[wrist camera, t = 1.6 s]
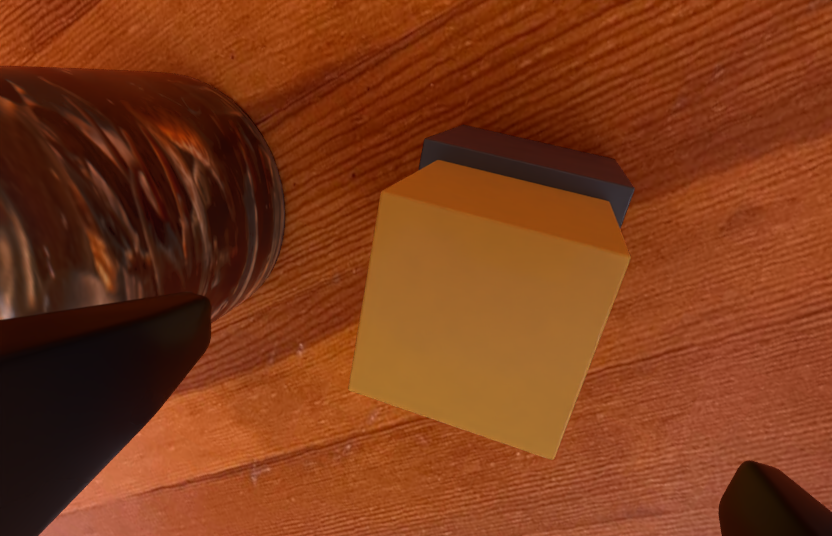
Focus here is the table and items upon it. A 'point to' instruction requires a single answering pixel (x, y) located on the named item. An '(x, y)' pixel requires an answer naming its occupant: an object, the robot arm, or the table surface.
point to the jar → (130, 191)
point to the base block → (532, 163)
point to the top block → (486, 302)
